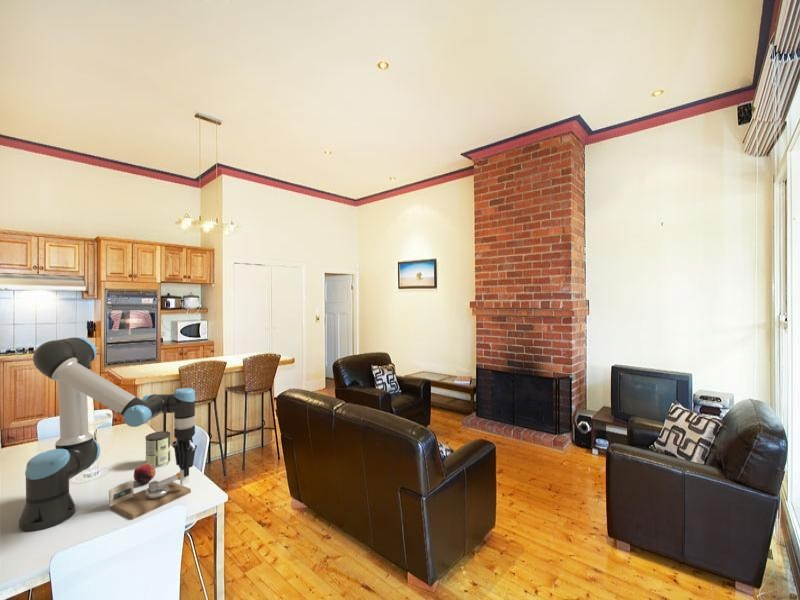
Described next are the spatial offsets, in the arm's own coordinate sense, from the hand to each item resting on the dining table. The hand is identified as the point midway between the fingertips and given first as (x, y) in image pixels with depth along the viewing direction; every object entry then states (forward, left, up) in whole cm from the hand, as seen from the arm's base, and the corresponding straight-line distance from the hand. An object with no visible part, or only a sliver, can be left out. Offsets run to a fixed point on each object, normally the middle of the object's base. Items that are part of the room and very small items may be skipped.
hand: (184, 483), depth 158 cm
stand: (-9, +7, -4) cm, 12 cm away
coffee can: (+11, +39, -5) cm, 41 cm away
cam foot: (-4, +6, -3) cm, 8 cm away
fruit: (-3, +24, -5) cm, 25 cm away
